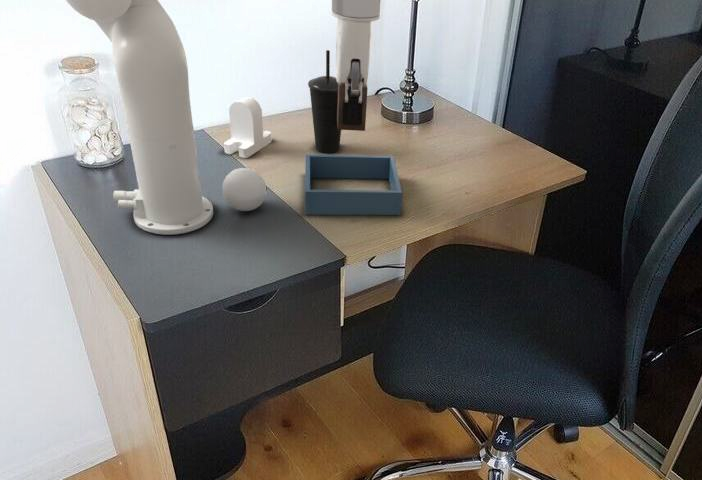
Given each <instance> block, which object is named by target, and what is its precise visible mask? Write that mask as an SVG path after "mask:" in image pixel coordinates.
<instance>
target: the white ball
mask: <svg viewBox="0 0 702 480" xmlns="http://www.w3.org/2000/svg"><path fill="white" fill-rule="evenodd" d="M266 184H267V183H266V181H265V180H264V178H263V177H262V175H261V174H260V173H259V172H257V171H256V170H254V169H252V168H248V167H240V168H235V169H233V170H232V171H230V172H229V173H228V174H227V173H226V176H225V178H224V180H223V182H222V187H221V192H222V195H223V198H224V201H225V202H227V204H228V205H229V206H230V207H231V208H232V209H235V210H237V211H240V212H250V211H253V210H256V209H258V208H259V207H260V206H261V205H262V204H263V202H264V201H265V199H266V195H267V191H268V187H267V185H266Z"/></svg>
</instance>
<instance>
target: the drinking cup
mask: <svg viewBox="0 0 702 480" xmlns="http://www.w3.org/2000/svg"><path fill="white" fill-rule="evenodd" d="M330 63H331V51H330V50H328V49H327V50H326V51H325V75H322V76H317V77H314V78H311V79H310V80H309V81H308V82H307V86H308V88H309V94H310V104H311V105H310V106H311V115H312V124H313V133H314V135H313V136H314V143H315V150H316V151H318V152H319V153H324V154H334V153H337V152H339V150H340V146H341V145H340V143H341V135H342V130H338V125H337V105H338V83H337V81H336V76H333V75H331V74H330V73H331V72H330V71H331V70H330V69H331V64H330Z"/></svg>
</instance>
